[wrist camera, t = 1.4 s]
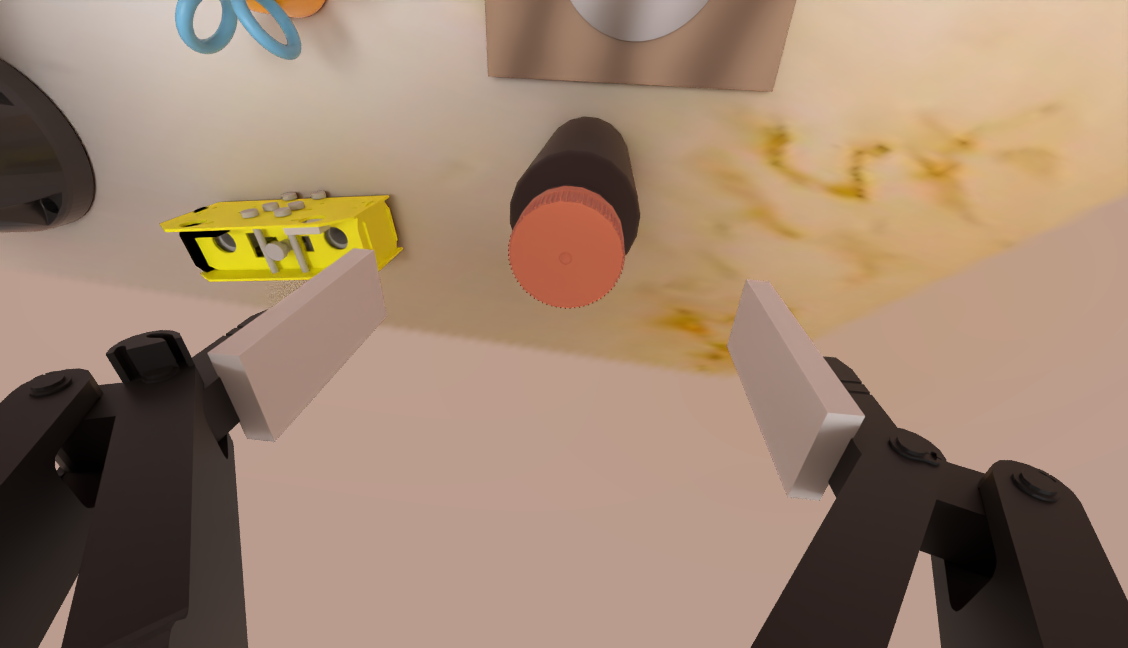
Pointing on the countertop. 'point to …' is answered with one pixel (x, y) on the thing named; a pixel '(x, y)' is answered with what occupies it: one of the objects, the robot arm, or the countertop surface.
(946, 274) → the countertop surface
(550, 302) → the vinegar
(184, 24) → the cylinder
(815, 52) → the countertop surface
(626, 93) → the countertop surface
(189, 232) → the yellow toy chassis
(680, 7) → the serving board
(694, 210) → the countertop surface
